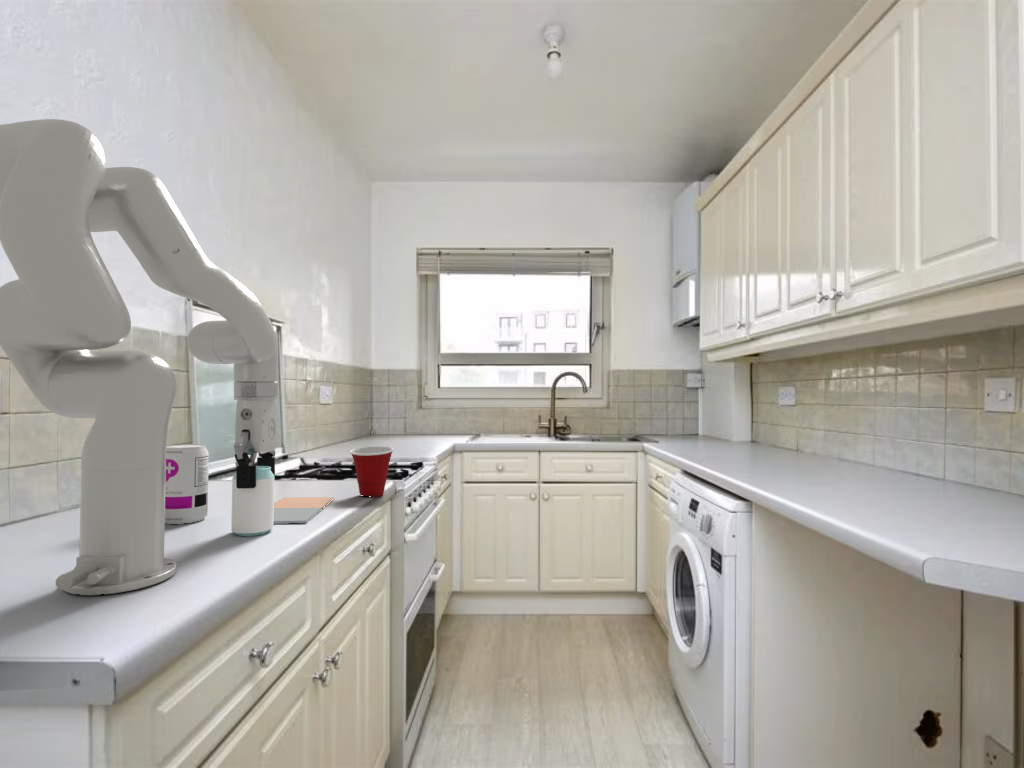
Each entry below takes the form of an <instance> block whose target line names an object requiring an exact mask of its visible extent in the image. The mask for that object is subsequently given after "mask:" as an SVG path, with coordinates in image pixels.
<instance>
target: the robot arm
mask: <svg viewBox="0 0 1024 768" xmlns="http://www.w3.org/2000/svg"><path fill="white" fill-rule="evenodd" d="M104 232H117V233H118V234H119V236H120V237H121V239H122V240H123V242H125V244H126V246H127V247H128V249H129V250H130V252H131V253H132V254H133V255H134V257H135V258H136V259H137V261H138V263H139V264H140V266H141V267H142V269H143V270H144V272H145V273H146V275H147V276H148V278H149V279H150V281H151V282H152V283H153V284H154V285H156V286H157V287H159V288H160V289H163V290H165V291H168V292H170V293H171V294H172V293H173V294H174V295H177V296H179V297H183V298H185V299H188V300H191V301H193V302H196V303H199V304H201V305H203V306H205V307H208V308H209V309H211V310H212V311H214V312H216V313H218V314H219V316H222V318H224V319H225V320H209V321H203V322H201V323H198V324H196V325H195V326H194V327H192V328H191V330H190V331H189V332H188V334H187V338H186V340H187V341H186V344H187V348H188V351H189V352H190V354H191V355H192V356H193V357H194V358H195V359H197V360H199V361H200V362H203V363H205V364H211V365H232V364H233V400H234V401H235V400H236V409H235V412H236V413H235V423H234V424H235V425H234V444H233V448H234V453H235V454H234V458H235V462H234V463H235V468H236V471H235V474H236V487H237V488H239V489H240V488H255V487H256V466H269V467H271V472H272V473H273V474H274V478H275V476H276V449H277V448H278V447H279V446H280V425H279V422H280V421H279V410H278V404H277V400H279V333H278V330H276V329H275V327H274V326H273V324H272V322H271V319H270V317H269V316H268V313H266V310H265V308H264V307H263V305H262V303H261V302H260V300H259V299H258V297H256V295H255V294H254V293H253V292H252V291H251V290H250V289H248V288H247V287H246V286H245V285H244V284H242V282H240V281H238V280H237V279H236V278H235V277H233V276H232V275H231V274H230V273H228V272H227V271H226V270H224V269H222V268H221V267H219V266H218V265H216V264H215V263H213V262H212V261H210V259H209V258H208V256H207V255H206V254H205V252H204V251H203V249H202V247H201V245H200V244H199V242H198V240H197V239H196V237H195V234H193V231H192V230H191V229H190V227H189V225H188V224H187V221H186V220H185V218H184V216H183V215H182V213H181V211H180V210H179V208H178V206H177V204H176V203H175V201H174V200H173V197H172V196H171V194H170V193H169V190H167V188H166V186H165V185H164V183H163V182H162V181H161V179H160V178H159V177H157V175H156V174H154V173H152V172H151V171H148V170H147V169H144V168H139V167H136V166H135V167H134V166H117V167H113V166H112V167H107V159H106V155H105V150H104V148H103V146H102V144H101V142H100V141H99V139H98V138H97V136H96V135H95V134H94V133H93V131H91V130H90V129H88V128H87V127H85V126H84V125H82V124H79V123H77V122H75V121H70V120H65V119H58V118H55V119H54V118H44V119H43V118H42V119H33V120H24V121H16V122H12V123H4V124H0V244H1V246H2V249H3V251H4V253H5V255H6V257H7V258H8V260H9V262H10V264H11V267H12V268H13V270H14V272H15V274H16V275H17V277H18V279H14V280H11V281H9V282H7V283H4V284H3V285H1V286H0V348H1V349H2V350H3V352H4V353H5V355H6V356H7V359H9V361H10V363H12V364H11V365H13V367H14V369H15V370H16V371H17V372H18V374H19V375H20V377H21V379H22V380H23V381H24V383H25V385H26V386H27V387H28V389H29V390H30V392H31V393H32V394H33V396H34V397H35V398H36V399H37V400H38V402H39V403H40V404H41V405H42V406H43V407H44V408H45V409H47V410H48V411H50V412H52V413H54V414H56V415H58V416H61V417H66V418H72V419H73V418H74V419H94V422H93V423H92V426H91V428H90V429H89V431H88V434H87V436H86V438H85V440H84V443H83V445H82V450H81V460H80V461H81V464H80V469H81V474H80V475H81V477H80V508H79V509H80V514H79V515H80V517H79V547H78V548H79V551H78V553H79V554H78V556H77V557H76V559H75V560H76V563H75V567H74V568H73V569H71V570H69V571H67V572H64V573H63V574H60V575H59V576H57V578H56V579H55V586H56V588H57V589H59V590H60V591H65V592H66V593H68V594H71V595H76V594H80V595H79V596H100V595H101V594H104V595H112V594H119V593H125V592H131V591H135V590H139V589H143V588H146V587H151V586H153V585H156V584H159V583H162V582H164V581H166V580H168V579H169V578H171V577H173V576H174V575H175V574H176V573H177V562H175V560H173V559H171V558H165V529H166V528H165V527H166V526H165V525H166V524H165V490H166V446H168V444H167V442H168V430H169V423H170V420H171V419H170V418H171V415H172V411H173V408H174V407H173V406H174V402H175V399H176V394H177V393H176V392H177V380H176V379H177V378H176V375H175V372H174V370H173V369H172V367H171V366H170V364H168V363H167V362H166V361H165V360H164V359H162V358H161V357H159V356H157V355H155V354H152V353H150V352H145V351H139V350H101V349H107V348H111V347H113V346H117V345H118V344H120V343H122V342H123V341H124V340H125V339H126V338H127V337H128V336H129V334H130V331H131V327H132V321H131V316H130V313H129V310H128V307H127V305H126V303H125V301H124V299H123V297H122V295H121V293H120V291H119V289H118V287H117V285H116V284H115V282H114V280H113V278H112V276H111V274H110V271H109V270H108V268H107V266H106V264H105V263H104V262H105V261H103V258H102V256H101V255H100V253H99V251H98V248H97V246H96V243H95V242H94V239H93V237H92V233H104ZM91 350H92V351H91ZM93 350H95V351H93ZM96 350H99V351H96ZM257 454H258V457H257ZM255 461H256V465H255ZM101 596H102V595H101Z"/></svg>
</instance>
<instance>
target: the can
mask: <svg viewBox="0 0 1024 768" xmlns="http://www.w3.org/2000/svg"><path fill="white" fill-rule="evenodd" d="M231 480H232V483H231V484H232V485H231V529H230V531H231V533H233V534H235V535H236V536H239V537H255V536H260V535H264V534H267V533H269V531H271V530H272V529H273V528H274V524H273V522H274V503H275V477H274V474H273V473H272V472H271V467H269V466H257V465H256V487H255V488H240V489H239V488H237V487H236V473H235V474H234V475H233V477H232V479H231Z"/></svg>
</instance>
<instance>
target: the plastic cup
mask: <svg viewBox="0 0 1024 768" xmlns="http://www.w3.org/2000/svg"><path fill="white" fill-rule="evenodd" d="M393 452H394V448H393V447H390V446H378V445H376V446H366V447H365V446H364V447H358V448H353V449H351V450H349V453H350V454H351V456H352V460H353V463H354V467H355V475H356V479H357V486H358V492H359V496H360V495H363V496H372V497H371V498H378V497H382V496H384V492H385V487H386V482H387V479H388V473H389V467H390V462H391V458H392V453H393Z"/></svg>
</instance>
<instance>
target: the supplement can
mask: <svg viewBox="0 0 1024 768" xmlns="http://www.w3.org/2000/svg"><path fill="white" fill-rule="evenodd" d="M209 454H210V453H209V450H208V449H207V448H206V445H205V444H198V443H197V444H192V443H191V444H174V445H173V444H172V445H167V446H166V490H165V525H170V524H178V525H185V524H184V523H189V524H194V523H198V522H201V521H203V520H204V519H205V518H206V517H207V516H208V502H209V466H210V465H209V464H210V463H209V462H210V455H209ZM197 521H198V522H197ZM193 522H194V523H193Z"/></svg>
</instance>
